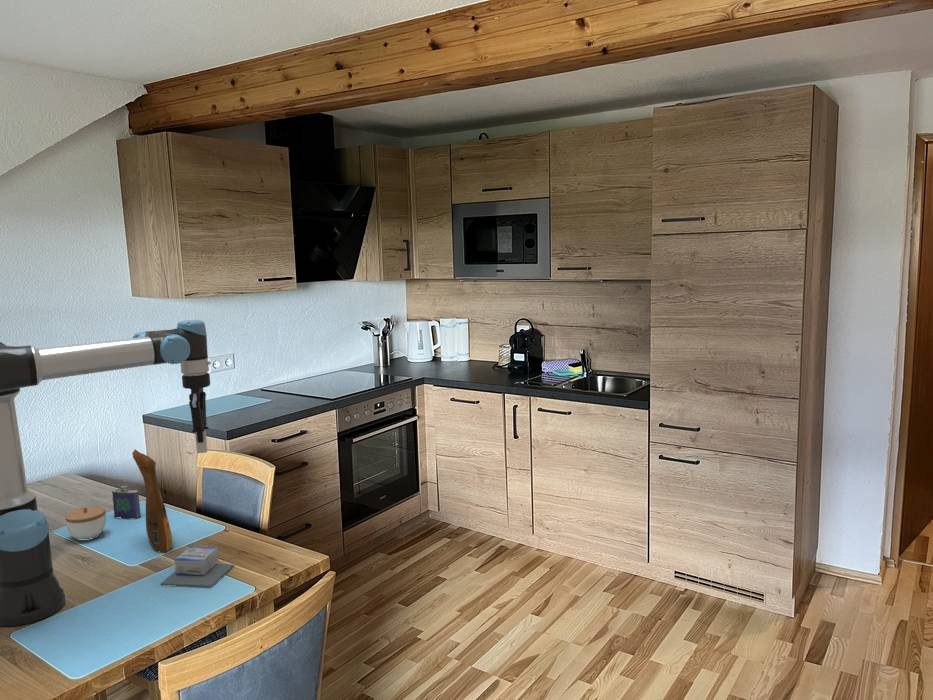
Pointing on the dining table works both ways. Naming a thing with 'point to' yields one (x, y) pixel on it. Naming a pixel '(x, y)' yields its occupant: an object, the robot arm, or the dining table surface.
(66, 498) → the dining table surface
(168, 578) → the mat
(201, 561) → the medicine box
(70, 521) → the lidded jar
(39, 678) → the dining table surface
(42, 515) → the robot arm
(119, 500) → the flask
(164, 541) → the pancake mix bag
